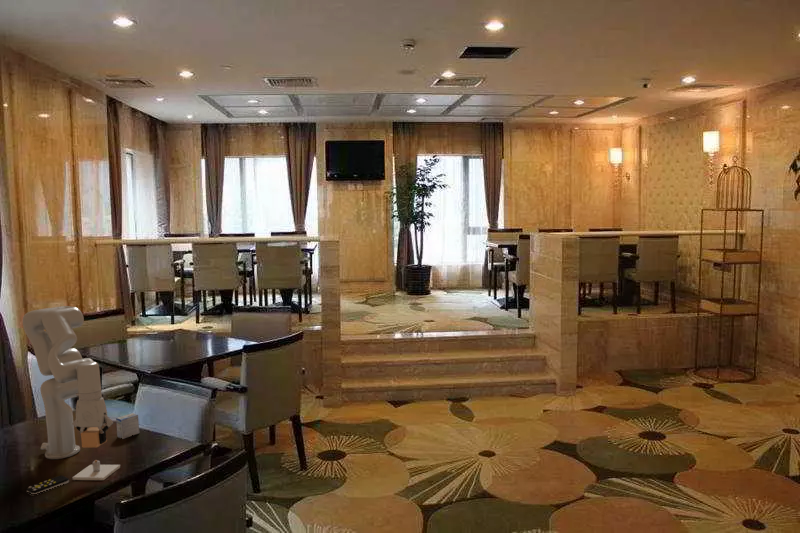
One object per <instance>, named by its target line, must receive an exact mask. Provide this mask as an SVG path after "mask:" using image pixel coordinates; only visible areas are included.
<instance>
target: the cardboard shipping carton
mask: <svg viewBox="0 0 800 533" xmlns="http://www.w3.org/2000/svg"><path fill="white" fill-rule="evenodd" d="M99 434H100V431H99V429H98V427H88V429H87V430H85V431H83V432H82V433H80V438H81V448H99V447H100V446H102V445H103V444H105V443H106V442H107V441H108V438H107V436H106V442H104V443H103V444H100V440H99Z"/></svg>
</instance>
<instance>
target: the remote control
mask: <svg viewBox="0 0 800 533" xmlns="http://www.w3.org/2000/svg"><path fill="white" fill-rule="evenodd" d="M69 482H70V479H69V478H68V477H67V476H65V475H58V476H54V477H52V478H49V479H47V480H44V481H40V482H39V483H36V484H33V485H30V486H28V487H27V488H26V493H27V492H30V493H31V494H37V493H40V492H43V491H45V492H47V491H46V490H48V491H50V490H49V489H51V490H53V489H55V488H54V487H56V488H58V487H57V486H59V487H61V486H64V485H67V484H68V483H69ZM63 484H64V485H63ZM60 485H61V486H60ZM52 488H53V489H52ZM43 493H44V492H43ZM31 494H30V495H31ZM40 494H41V493H40ZM37 495H38V494H37Z"/></svg>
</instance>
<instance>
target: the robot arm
mask: <svg viewBox="0 0 800 533" xmlns="http://www.w3.org/2000/svg"><path fill="white" fill-rule="evenodd" d="M84 318H85V317H84V314H83V313H82V311H81V310H80V308H78V307H76V306H69V305H63V306H62V305H61V306H55V307H46V308H39V309H34V310H31V311H28V312H26V313H25V314H24V315H23V316H22V326H23V330H24V333H25V335H26V337H27V338H28V340H29V341H30V343H31V345H32V347H33V351H34V355H35V359H36V363H37V366H38V369H39V372H40V374H41V375H42V376H46V377H47V376H48V377H49V376H53V377H52V378H49V379H47V380H45V381H43V382H42V383H41V385H40V389H39V390H40V395H41V398H42V402H43V406H44V412H45V413H44V414H45V422H46V431H47V432H46V433H47V434H46V435H47V442H42V444H41V445H40V450H46V451H45V454H44V457H45V458H46V459H48V460H62V459H66V458H69V457H72V456H75V455H76V454H78V453H79V452H80V451H81V446H80V445H77V444H76V436H75V428H76V429H77V431H79V434H81V433H82V432H83V431H85V430H87V429H88V428H90V427H98V429H99V431H100V434H99V440H100V444H102V445H103V444H105V443H107V441H106V437H107V431H108V430H109V429H110V427H111V426H113V424H114V420H112V419H111V418H110V417H109V416H108V411H107V406H106V402H105V399H104V397H103V396H102V384H101V375H100V374H101V372H100V365H99V363H98V362H96V361H94V360H93V359H92V358H90V357H85V358H83V356H82V354H81V353H80V351H79V350H78V349H76V348H75V347H73V346H75V344H76V343H77V342H78V337H77V334H76V332H75V331H74V329H76V328H80V327H83V325H84V320H85V319H84ZM77 397H78V399H77V400H76V406H75V420H74V414H73V413H74V412H73V408H72V407H71V406H70V404H68V403H66V402H65V400H69V399H73V398H77ZM104 442H105V443H104Z"/></svg>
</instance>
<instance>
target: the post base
mask: <svg viewBox="0 0 800 533" xmlns="http://www.w3.org/2000/svg"><path fill="white" fill-rule="evenodd" d="M120 468H121V464H101V461H100V460H98V459H95V460H94V461H92V464H89V465H88V466H86V467H85V468H83V469H82V470H81V471H80V472H77V474H75V475H74V476H72V481H105V480H106V479H107V478H109V477H110V476H111V475H112V474H114V473H115V472H116V471H118V470H119V469H120Z"/></svg>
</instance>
